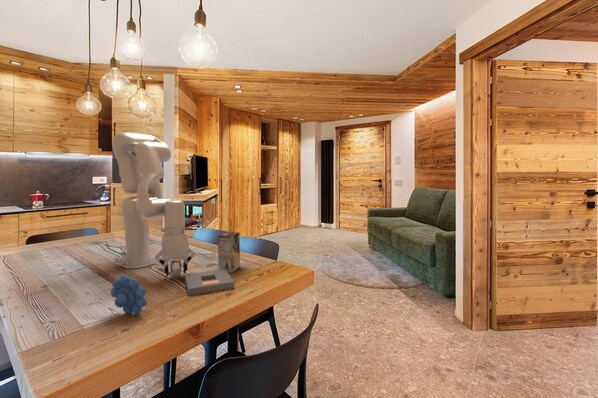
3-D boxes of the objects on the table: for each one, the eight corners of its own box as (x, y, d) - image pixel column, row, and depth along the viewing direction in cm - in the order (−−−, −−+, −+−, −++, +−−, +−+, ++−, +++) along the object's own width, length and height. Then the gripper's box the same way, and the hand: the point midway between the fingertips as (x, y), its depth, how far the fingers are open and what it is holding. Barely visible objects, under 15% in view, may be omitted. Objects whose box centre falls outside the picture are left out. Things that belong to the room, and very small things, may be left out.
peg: (171, 279, 116) (170, 262, 115) (170, 276, 120) (170, 259, 119) (181, 278, 118) (181, 261, 117) (181, 274, 121) (180, 258, 121)
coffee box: (227, 265, 134) (226, 231, 133) (240, 266, 133) (240, 232, 131) (218, 272, 125) (217, 235, 124) (231, 273, 124) (231, 236, 122)
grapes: (100, 318, 85) (98, 279, 84) (118, 308, 91) (116, 271, 90) (136, 322, 83) (134, 282, 82) (151, 311, 89) (150, 273, 88)
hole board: (188, 295, 101) (188, 288, 101) (185, 280, 115) (184, 273, 115) (234, 288, 108) (234, 281, 108) (225, 274, 122) (225, 268, 122)
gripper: (150, 234, 110) (152, 280, 111) (198, 230, 117) (199, 273, 119) (151, 230, 116) (152, 273, 118) (196, 227, 124) (197, 268, 126)
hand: (176, 273), depth 118 cm, fingers open, 5 cm apart
